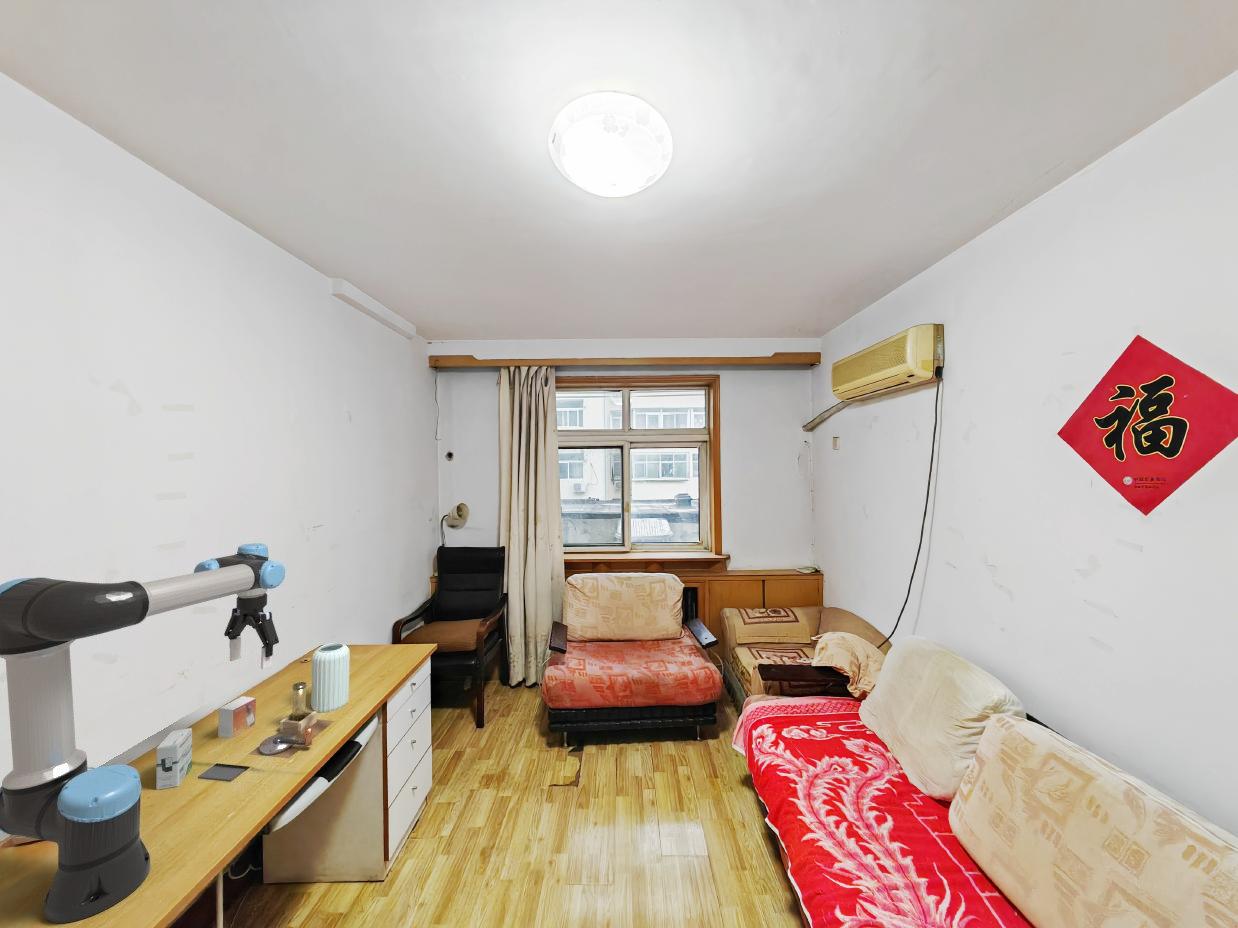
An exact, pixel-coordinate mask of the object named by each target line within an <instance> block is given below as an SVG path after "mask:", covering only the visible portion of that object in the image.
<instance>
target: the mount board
mask: <svg viewBox="0 0 1238 928" xmlns="http://www.w3.org/2000/svg"><path fill="white" fill-rule="evenodd" d="M334 722H335V720H330V719H329V720H328V719H318V718H317V722H316V723H315V724H313V725H312V727H313V735H312V740H314V739H315V738H316V737H317V736H319V735H320V734H321V733H322V732H324V730H326V729H327V728H329V726H331V724H333V723H334ZM281 733H282V732H280V731H278V732H277V733H276V734H274V735H277V734H281ZM292 734H293V733H292ZM294 735H295V740H305V731H304V732H303V733H302V734H294ZM304 747H306V746H305V745H296V744H294V745H293V746H292V747H290V748H289V749H287V750H285V751H282V752H280V753H276V754H262V753H260V751H259V746H257V747H256V748H255V749H254V750H252V751H251V752H249V753H248V755H252V756H263V757H275V758H284V759H291V757H293V756H294V755H296V754H297V753H298V752H299V751H300V750H301V749H303V748H304Z"/></svg>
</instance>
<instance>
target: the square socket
mask: <svg viewBox="0 0 1238 928" xmlns="http://www.w3.org/2000/svg"><path fill="white" fill-rule="evenodd" d="M317 719H318V712H317V711H314V710H305V718H304V719H303V720H302V721H292V712H291V713H290V714H289V715H287V716H286V717H285V718H283V719H281V720H280V721H279V732H282V733H293V734H302V733H303V732H304V731H305V728H306V727H309V726H312V725H313V724H315V723H316V722H317Z"/></svg>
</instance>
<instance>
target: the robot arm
mask: <svg viewBox="0 0 1238 928" xmlns="http://www.w3.org/2000/svg"><path fill="white" fill-rule="evenodd" d="M268 548H269V546H268V545H267V544H265V543H261V542H260V543H259V542H257V543H256V542H253V543H246V544H241V545H239V546H238V547H237V551H236V554H231V555H226V556H222V557H215V558H210V559H207V560H203V561H200V562H199V563H197V565H196V566H195V568H194V570H193V573H187V574H183V575H178V576H173V577H171V576H170V577H167V578H161V579H157V580H152V581H146V582H139V581H137V580H127V581H122V582H111V583H110V582H109V583H107V582H106V583H104V582H103V583H102V582H101V583H100V582H87V581H86V582H85V581H74V580H73V581H72V580H63V579H52V578H49V577H43V576H42V577H40V576H38V577H37V576H36V577H21V578H16V579H12V580H9V581H7V582H4V583H2V584H0V658H1V659H4V660H5V668H6V669H5V670H6V682H7V683H6V684H7V700H8V711H9V712H8V713H9V715H8V716H9V727H10V741H11V742H10V743H11V756H12V770H11V771H9V772H8V774H6V776H5V777H4V778H3V779H2V782H1V786H0V831H1V832H2V833H5V834H7V835H10V836H19V837H24V838H30V839H35V840H42V841H47V842H50V843H51V842H52V843H56V844H57V852H58V853H57V857H58V861H57V865H58V866H57V870H56V873H55V876H54V878H53V881H52V883H51V887H50V889H49V890H48V891H47V894H46V896H45V899H44V904H43V905H44V907H43V908H44V909H43V915H44V918H45V919H46V920H47V921H49V922H52V923H61V924H62V923H70V922H76V921H79V920H82V919H86V918H89V917H91V916H94V915H97V914H99V913H100V912H103V911H105V910H107V909H109V908H111V907H113V906H115V905H116V904H118V903H120V902H121V901H123V900H124V899H125V898H127V897H129V896H130V895H131V894H132V893H133V892H135V890H137V889H138V888H139V887H141V885H142V884H143V883H144V882H145V881H146V879H147V877H148V876H149V874H150V871H151V855H150V853H149V851H148V849H147V847H146V845H145V843H144V842H143V840H142V838H141V836H140V832H141V831H140V828H141V827H140V826H141V798H142V797H141V793H142V783H141V776H140V772H139V771H138V770H137V768H135V767H133V766H130V765H127V764H118V763H117V764H111V765H109V766H106V765H102V766H98V767H95V768H91V769H89V770H88V760H87V759H88V757H87V756H88V755H87V753H86V751H84V750H83V749H77V748H76V747H77V746H76V732H75V731H76V730H75V713H74V697H73V684H72V666H71V650H70V649H71V648H70V647H71V646H70V645H72V643H74V642H75V641H76V640H79V639H84V638H89V637H93V636H97V635H103V634H105V633H109V632H113V631H116V630H121V629H124V628H127V627H128V628H129V627H132V626H135V625H138V624H141V623H142V622H143V621H145V619H146V618H147V617H151V616H155V615H160V614H163V613H167V612H170V611H175V610H177V609H183V608H186V607H190V606H194V605H198V604H201V603H206V602H210V601H213V600H216V599H221V598H225V597H229V596H232V595H236V596H237V597H236V607H234V608H232V610H231V616H230V619H229V621H228V623H227V626H226V628H225V631H224V633H223V635H224V636H225V637H227V639H228V640H229V661H230V662H233V661H236V660H239V659H241V658H242V657H241V656H242V655H241V653H242V637H241V636H242V635H241V634H242V632H243V631H244V630H245V628H246V627H247V626H249V627H252V629H253V630H255V632H256V634H257V635H258V637H259V639H260V641H261V643H262V645H263V646H261V659H260V660H261V662H260V664H261V665H260V669H261V670H263V669H266V668H269V667H272V666H273V654H274V652H273V651H274V645H277V644H279V643H280V641H279V637H278V632H277V630H276V627H275V623H274V621H273V613H272V612H271V611H267V612H265V611H264V608H265V607H266V606H267V604H268V594H267V592H268V589H269V590H270V589H271V590H272V589H276V588H278V587H279V586H280V585H281V584H282V583H283V581H284V580H285V577H286V567H285V566H284V564H283V563H281V562H278V561H274V560H272V559H271V560H269V549H268Z"/></svg>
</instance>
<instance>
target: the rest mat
mask: <svg viewBox="0 0 1238 928" xmlns="http://www.w3.org/2000/svg"><path fill="white" fill-rule="evenodd" d="M250 768H251V766H248V765H240V764H239V765H237V764H230V763H229V764H227V763H226V764H225V763H218V762H217V763H215V764H214V765H212V766H211V767H209V768H208V769H206V770H205V771H203V772H202V773H200V774H199V775H198V776H197V779H201V780H202V779H204V780H212V781H222V782H232V781H234V780H235V779H236V778H238V777H240V775H242V774H243V773H244V772H246V771H247V770H248V769H250Z"/></svg>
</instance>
